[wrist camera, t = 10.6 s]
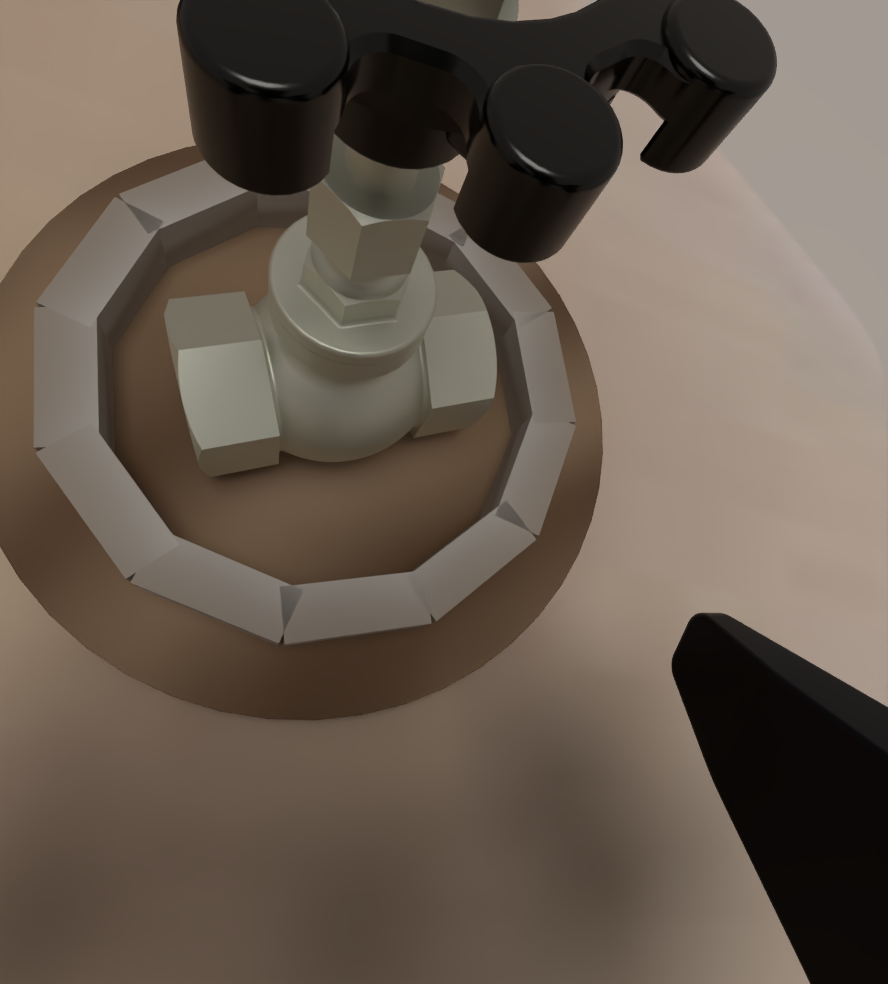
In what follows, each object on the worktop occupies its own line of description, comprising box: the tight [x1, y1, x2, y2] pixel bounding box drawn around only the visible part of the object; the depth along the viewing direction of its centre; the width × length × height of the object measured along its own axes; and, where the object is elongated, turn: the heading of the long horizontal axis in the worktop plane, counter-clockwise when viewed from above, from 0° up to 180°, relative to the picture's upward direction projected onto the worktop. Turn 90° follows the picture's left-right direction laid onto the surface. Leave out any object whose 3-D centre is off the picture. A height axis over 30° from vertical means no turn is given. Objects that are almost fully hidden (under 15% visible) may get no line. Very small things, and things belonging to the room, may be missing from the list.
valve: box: [164, 0, 777, 477], centre depth 11 cm, size 7×7×12 cm
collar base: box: [0, 146, 603, 720], centre depth 16 cm, size 16×16×2 cm
